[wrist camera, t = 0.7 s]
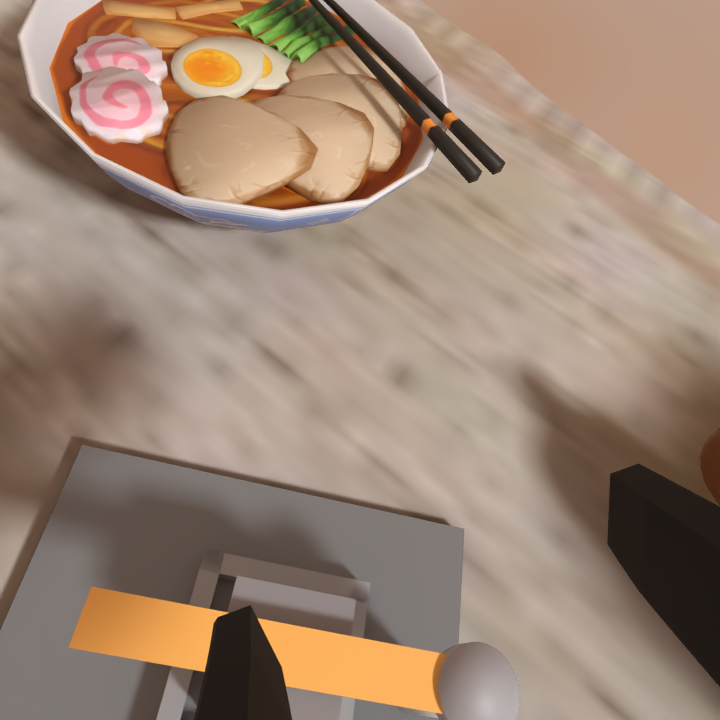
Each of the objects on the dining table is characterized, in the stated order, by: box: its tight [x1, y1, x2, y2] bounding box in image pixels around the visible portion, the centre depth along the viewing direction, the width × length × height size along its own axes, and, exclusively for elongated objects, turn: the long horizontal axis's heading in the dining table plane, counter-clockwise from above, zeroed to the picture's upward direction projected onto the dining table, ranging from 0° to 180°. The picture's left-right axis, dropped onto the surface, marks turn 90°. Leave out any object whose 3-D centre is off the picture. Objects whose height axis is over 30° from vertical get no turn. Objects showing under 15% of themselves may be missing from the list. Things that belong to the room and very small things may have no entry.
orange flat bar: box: [69, 586, 520, 720], centre depth 17 cm, size 3×13×1 cm, turn 81°
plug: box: [228, 576, 356, 720], centre depth 20 cm, size 4×4×6 cm
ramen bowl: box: [17, 0, 505, 233], centre depth 33 cm, size 25×23×8 cm
